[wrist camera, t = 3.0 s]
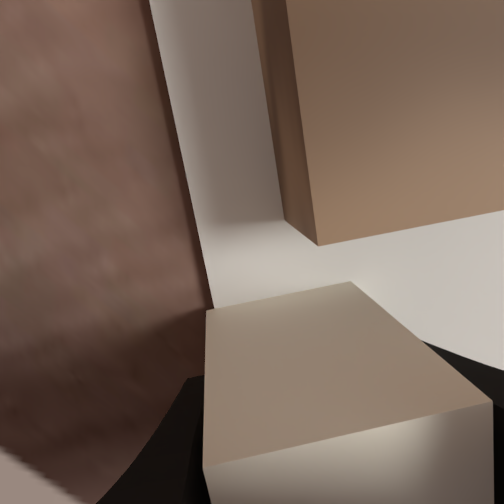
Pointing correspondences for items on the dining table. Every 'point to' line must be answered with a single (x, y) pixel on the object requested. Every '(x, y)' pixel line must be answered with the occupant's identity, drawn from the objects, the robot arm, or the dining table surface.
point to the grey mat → (271, 211)
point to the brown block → (383, 111)
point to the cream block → (337, 408)
